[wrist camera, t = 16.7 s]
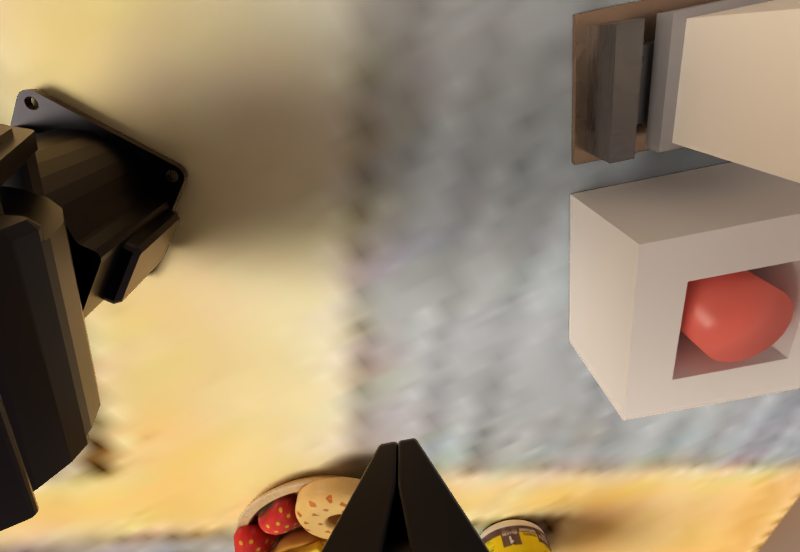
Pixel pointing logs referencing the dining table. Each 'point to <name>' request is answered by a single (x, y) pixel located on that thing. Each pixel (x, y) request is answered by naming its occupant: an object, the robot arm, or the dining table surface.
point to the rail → (614, 78)
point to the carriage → (729, 83)
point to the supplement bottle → (515, 537)
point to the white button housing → (679, 283)
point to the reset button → (734, 315)
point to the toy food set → (294, 515)
